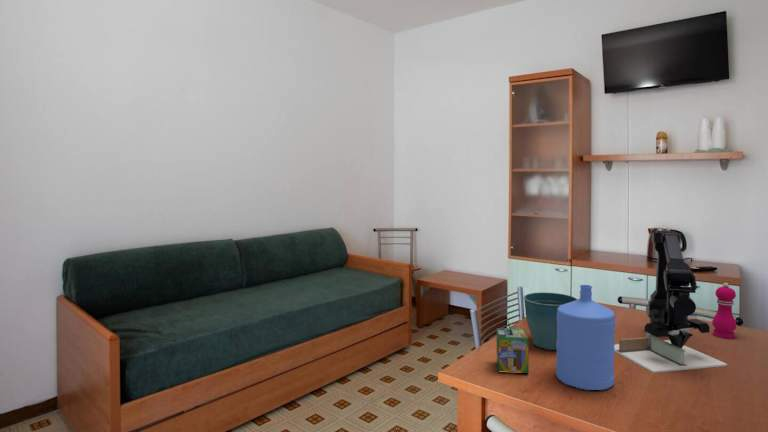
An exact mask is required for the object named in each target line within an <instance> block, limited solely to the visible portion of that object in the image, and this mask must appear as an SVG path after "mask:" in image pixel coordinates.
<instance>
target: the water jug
mask: <svg viewBox="0 0 768 432" xmlns="http://www.w3.org/2000/svg"><path fill="white" fill-rule="evenodd" d="M579 287H580V290H579V298H578V299H577V300H576V301H573V302H569V303H566V304H563V305H561V306H559V307H558V309H557V341H556V349H557V350H556V367H555V374H556V378H557V379H558V381H560V380H561V381H560V382H561V383H563V384H565V385H567V386H569V385H570V386H569V387H571V386H573V387H572V388H574V387H576V388H575V389H578V388H579V390H582V389H584V390H585V391H590V390H599V391H604V390H605V391H606V390H608V389H609V388H611V387H613V386H614V383H615V375H614V363H615V362H614V361H615V353H616V352H615V347H614V345H615V333H616V331H615V329H616V314H615V312H614V311H613V310H612V309H610V308H608V307H606V306H604V305H602V304H601V303H598V302H596V301H594V300H593V298H592V294H593V292H592V288H593V286H592V285H588V284H580V285H579ZM584 390H583V391H584Z"/></svg>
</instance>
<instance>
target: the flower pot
mask: <svg viewBox="0 0 768 432" xmlns="http://www.w3.org/2000/svg"><path fill="white" fill-rule="evenodd" d="M523 300H524V308H525V309H524V311H525V319H526V323H527V326H528V329H529V330H528V331H529V332H530V336H531V338H532V344H533V345H534V346H535V345H536V346H535V347H537V346H538V348H540V347H541V348H540V349H543V348H544V350H549V351H557V349H556V341H557V309H558V307H559V306H561V305H563V304H566V303H569V302H573V301H576V300H578V298H577V297H575V296H572V295H568V294H565V293H557V292H545V291H543V292H542V291H541V292H532V293H527V294H525V295H523Z"/></svg>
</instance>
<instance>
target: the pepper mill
mask: <svg viewBox="0 0 768 432" xmlns="http://www.w3.org/2000/svg"><path fill="white" fill-rule="evenodd" d="M715 296H716V298H717V299H716V304H717V306H718V307H717V310H716V313H715V315H714V316H713V318H712V321H711V324H712V326H713V328H714V329H713V333H712V334H713V335H714V337H717V338H720V339H726V340H727V339H729V340H730V339H734V338H735V332H734V331H735V330H736V329H737V327H738V326H737V321H736V319H735V316H734V315H733V310H732V309H733V306H734V305H735V304H734V303H735V302H734V299H735V298H736V296H737V294H736V290H734V289H733V288H732V287H730V285H729V283H728V282H724V283H723V284H722V286H720V287H717V289H716V290H715Z"/></svg>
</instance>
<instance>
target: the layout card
mask: <svg viewBox="0 0 768 432" xmlns="http://www.w3.org/2000/svg"><path fill="white" fill-rule="evenodd" d="M651 337H654V336H653V335H651V334H649V333H647V332H646V335H645V336H643V337H641V336H640V337H629V338H619V343H617V344H615V343H614V347H615V353H616V354H618V355H620V356H622V357H624V358H625V359H626V360H629V361H630V362H632V363H635V364H636V365H638V366H639V367H642V368H643V369H646V370H648V371H649V372H651V373H652V374H657V373H666V372H667V373H668V372H677V371H679V372H680V371H689V370H696V369H697V370H699V369H707V368H716V367H717V368H720V367H727V366H728V363H726V362H724V361H722V360H720V359H716V358H715V357H712V356H710V355H708V354H705V353H702V352H700V351H698V350H696V349H694V348H691V347H689V346H687V345H685V344H684V346H683V347H682V349H684V350H685V352H684V364H679V363H677V362H675V361H673V360H671V359H669V358H667V357H665V356H663V355H661V354H659V353H657V352H655V351H653V350H651ZM662 340H663V339H662ZM663 341H666V342H668V343H670V344H671V341H670V339H667V340H666V339H664V340H663Z"/></svg>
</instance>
